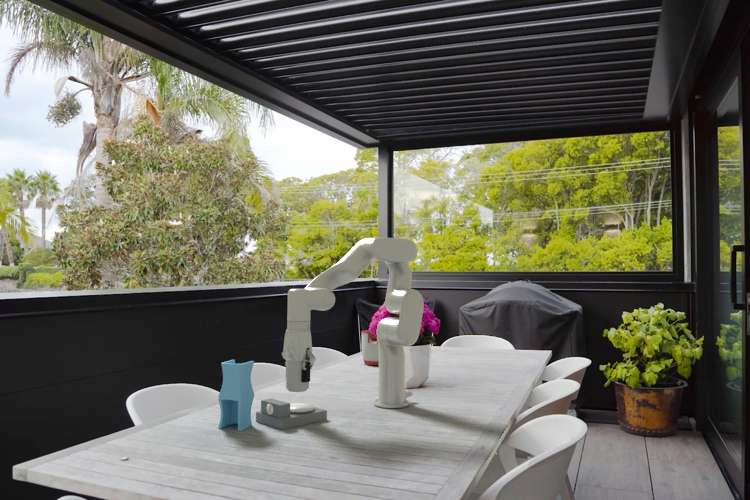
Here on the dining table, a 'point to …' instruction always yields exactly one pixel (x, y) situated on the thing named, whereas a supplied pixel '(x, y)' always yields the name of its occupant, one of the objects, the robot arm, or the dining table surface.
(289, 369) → the can
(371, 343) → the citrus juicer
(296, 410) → the scale
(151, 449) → the dining table surface
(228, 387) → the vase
